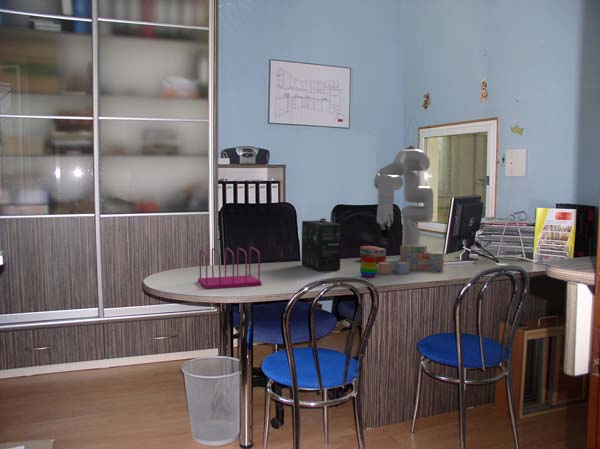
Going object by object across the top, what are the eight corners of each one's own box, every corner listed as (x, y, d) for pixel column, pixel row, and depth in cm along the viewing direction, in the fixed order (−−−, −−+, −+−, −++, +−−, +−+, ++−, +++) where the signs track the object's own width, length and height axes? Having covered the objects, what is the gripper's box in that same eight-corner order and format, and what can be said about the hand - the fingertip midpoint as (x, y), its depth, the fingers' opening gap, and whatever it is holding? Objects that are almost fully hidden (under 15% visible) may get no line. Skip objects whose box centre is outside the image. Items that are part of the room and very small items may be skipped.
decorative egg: (358, 278, 254) (359, 257, 253) (361, 275, 262) (361, 255, 261) (376, 279, 252) (376, 258, 251) (378, 276, 260) (378, 255, 259)
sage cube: (384, 269, 277) (384, 259, 277) (393, 268, 279) (393, 259, 278) (388, 270, 273) (388, 261, 272) (397, 270, 274) (397, 260, 273)
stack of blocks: (443, 270, 278) (444, 246, 277) (440, 272, 273) (441, 248, 272) (403, 266, 288) (403, 243, 287) (399, 268, 283) (400, 245, 282)
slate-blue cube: (395, 272, 269) (395, 262, 269) (404, 271, 270) (404, 261, 270) (399, 273, 264) (399, 263, 264) (409, 273, 266) (409, 263, 265)
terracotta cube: (377, 272, 268) (377, 262, 268) (387, 271, 269) (387, 262, 269) (381, 274, 263) (381, 264, 263) (391, 273, 264) (391, 263, 264)
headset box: (341, 270, 276) (341, 219, 274) (320, 272, 271) (320, 220, 268) (320, 263, 296) (320, 216, 294) (300, 265, 291) (300, 217, 288)
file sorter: (261, 285, 237) (261, 250, 235) (204, 289, 228) (204, 252, 226) (251, 278, 253) (251, 245, 251) (197, 282, 244) (197, 247, 243)
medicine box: (386, 263, 301) (386, 248, 300) (373, 263, 297) (373, 249, 297) (371, 259, 314) (371, 245, 314) (359, 260, 311) (359, 246, 310)
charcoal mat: (367, 270, 277) (367, 269, 277) (397, 268, 281) (397, 268, 281) (378, 275, 261) (378, 274, 261) (411, 274, 265) (411, 273, 265)
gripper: (372, 199, 269) (372, 236, 271) (384, 200, 255) (383, 239, 256) (386, 200, 271) (386, 236, 272) (399, 201, 257) (398, 239, 258)
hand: (384, 237), depth 264 cm, fingers closed
